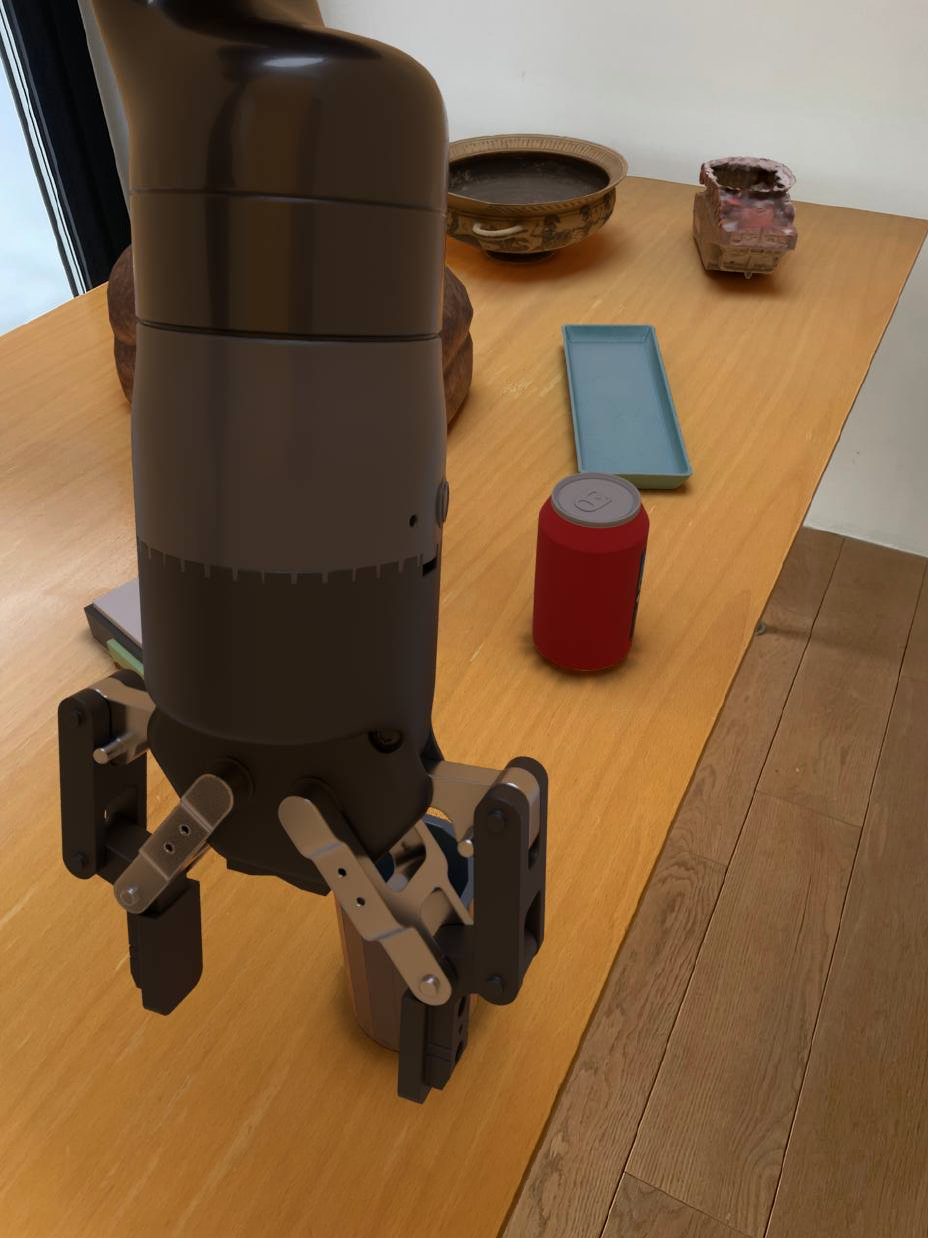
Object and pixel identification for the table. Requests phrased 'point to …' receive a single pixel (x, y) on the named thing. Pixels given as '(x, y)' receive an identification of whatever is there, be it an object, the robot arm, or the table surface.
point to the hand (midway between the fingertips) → (293, 1037)
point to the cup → (369, 963)
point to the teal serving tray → (623, 405)
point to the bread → (452, 334)
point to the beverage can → (589, 570)
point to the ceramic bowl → (529, 193)
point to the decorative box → (744, 214)
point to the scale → (119, 624)
